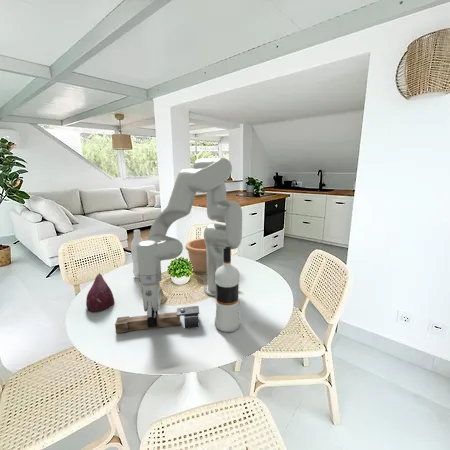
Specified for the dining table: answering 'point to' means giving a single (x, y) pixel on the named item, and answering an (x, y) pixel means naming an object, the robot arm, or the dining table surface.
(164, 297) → the hand bell
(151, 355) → the dining table surface
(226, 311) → the vodka
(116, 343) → the dining table surface
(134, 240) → the water bottle
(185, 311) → the hinge block
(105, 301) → the vegetable
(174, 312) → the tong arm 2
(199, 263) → the pottery
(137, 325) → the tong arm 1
